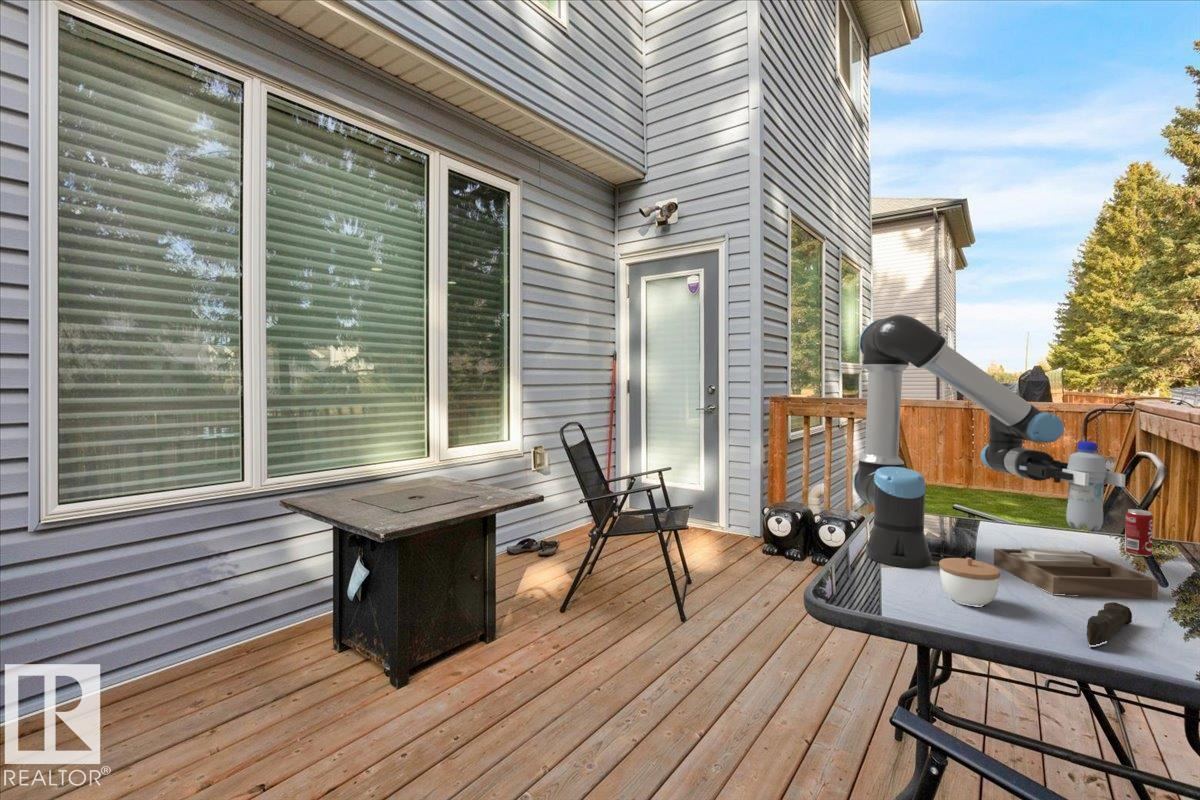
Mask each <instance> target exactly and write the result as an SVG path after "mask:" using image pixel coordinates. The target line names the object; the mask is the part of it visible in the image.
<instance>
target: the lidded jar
mask: <svg viewBox="0 0 1200 800" xmlns="http://www.w3.org/2000/svg"><path fill="white" fill-rule="evenodd" d="M938 562H939V565H938V566H939V576H940V578H939V580H940V582H941V583H940V584H941V586H942V588H943V590H944V591H945V593H946V594H947V595H948V596H949V597H950V598H952V599H954V600H955V601H958V602H961V603H965V604H969V605H978V606H981V605H986V606H987V604H990V603H991V602H992V601H993V600H994V599H995V598H996V596H997V594H998V591H999V587H1000V577H1001V570H1000V569H999V567H998V568H997V566H996V565H995V566H994V564H993V565H992V564H990V563H987V562H984V561H980V560H975V559H973V558H971V557H965V558H962V557H946V558H941V559H940V560H939V561H938Z"/></svg>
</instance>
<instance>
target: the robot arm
mask: <svg viewBox="0 0 1200 800" xmlns="http://www.w3.org/2000/svg"><path fill="white" fill-rule="evenodd" d="M858 346H859V349H860V352H861V353H862V355H863V357H862V359H863V360H862V366H863V368H864V369H865V370H866V371H867V372H868V375H867V377H868V378H867V398H866V400H867V401H866V402H867V403H866V423H865V425H866V426H865V447H864V454H863V455H861V456H860V457H859V458H858V469H857V470H856V471H855V474H853V475H854V476H853V477H852V478H853V479H852V482H853V483H852V484H853V488H854V491H855V493H856V494H857V495H858V497H859V498H860V499H861V500H862V501H863V502H864V503H866V504H867V505H870V506H871V507H873V528H872V531H871V533H870V535H869V538H868V542H867V543H866V547H865V555H866V554H867V555H868V556H869V557H870V558H871V560H872V559H873V561H874V562H878V563H880V564H883V565H889V566H893V567H900V568H911V569H913V568H914V569H915V568H916V569H917V568H919V569H920V568H926V567H929V566H931V565H932V553H931V551H930V549H929V544H928V541H927V537H926V534H925V513H926V512H925V507H926V506H925V505H926V490H927V487H926V479H925V477H924V475H923V474H921V472H919V471H918V470H914V469H910V468H909V469H908V468H906V467H905V462H904V461H903V459H901V457H900V456H899V452H900V451H899V450H900V429H901V428H900V427H901V411H902V410H901V407H902V406H901V405H902V387H903V386H902V385H903V372H904V371H905V370H906V369H907V368H908V367H909V365H910V364H911V365H912V366H914V367H916V368H917V369H921V368H923V369H926V370H927V371H929V372H930V373H931V374H933V375H934V376H935V377H937V378H938V379H940V380H942V381H943V382H945V384H947V385H948V386H950V387H951V388H953V389H954V390H956V391H957V392H958V393H959V394H960V395H963V396H964V398H967V399H968V400H970V401H971V402H972V403H974V404H975V405H977V406H978V407H980V408H981V409H983V411H986V412H987V413H988V422H989V424H988V427H989V428H988V429H989V431H988V432H989V434H988V437H989V438H988V444H986V445H985V446H984V447H983V448H982V450H981V452H980V460H981V463H983V465H984V466H985V467H987V468H989V469H992V470H994V471H996V472H997V473H998V472H999V473H1005V474H1008V475H1009V474H1010V475H1014V476H1018V477H1019V479H1020V480H1023V479H1029V480H1033V481H1037V482H1038V481H1039V482H1042V481H1045V480H1051V479H1053V483H1054V484H1060V483H1061V481H1063V482H1067V483H1069V482H1071V483H1075V484H1079V485H1083V486H1089V474H1088V473H1083V472H1078V471H1074V470H1069V469H1067V466H1068V462H1065V461H1064V462H1063V461H1061V460H1057V459H1054V458H1053V457H1052V455H1051V454H1050V453H1047V452H1045V451H1041V450H1035V449H1030V448H1024V447H1023V444H1024V441H1029V442H1033V443H1037V444H1039V443H1040V444H1041V443H1042V444H1050V443H1054V442H1056V441H1058V440H1059V439H1060V438H1061V437H1062V435H1063V434H1064V430H1065V425H1064V422H1063V420H1062V419H1061V417H1059V416H1058V415H1056V414H1053V413H1050V412H1047V411H1042V410H1040V409H1039V408H1038V407H1036V405H1035V406H1034V405H1033V404H1031V403H1030V402H1028V401H1027V400H1025V399H1024V398H1023V397H1021V396H1020V395H1018V394H1017V393H1015V392H1014V391H1013V390H1011V389H1010V388H1009V387H1007V386H1006V385H1004V384H1003V383H1001V382H1000V381H998V380H997V379H996V378H994V377H993V376H991V375H990V374H988V373H987V372H986V371H984V370H983V369H982V368H981V367H979V366H978V365H976V364H974V363H973V362H972V361H970V360H969V359H967V358H966V357H964V356H963V355H961V354H960V353H959V352H957V351H956V349H955V350H954V349H953V348H952V347H950V346H949V345H948V343H947V339H946V338H945V337H943V335H942V334H939V332H937V331H935V330H934V329H932V328H931V327H930V326H928V325H926V324H925V323H924V322H922V321H920V320H918V319H917V318H914V317H912V316H910V315H909V316H908V315H904V314H895V315H891V316H887V317H885V318H880V319H876V320H875V321H873V322H871V323H870V324H868V325H867V326H865V328H864V329H863V330H862V332H861V334H860V336H859V339H858ZM1106 469H1107V472H1106V478H1105V479H1104V484H1105V485H1106V484H1107V485H1111V486H1115V487H1121V488H1125V487H1126V474H1124V473H1120V472H1119V473H1118V472H1113V471H1111V469H1108V468H1106ZM867 555H866V556H867ZM868 556H867V557H868ZM869 557H868V558H869ZM870 558H869V559H870Z"/></svg>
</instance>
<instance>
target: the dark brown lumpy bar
mask: <svg viewBox="0 0 1200 800" xmlns="http://www.w3.org/2000/svg"><path fill="white" fill-rule="evenodd" d="M1132 619H1133V613H1132V610H1131V609H1130V607H1129V606H1127V605H1123V604H1121V603H1118V602H1115V601H1114V602H1107V603H1104V604H1103V609H1100V610H1098V612H1097V615H1092V616H1090V617H1089V618H1088V621H1087V625H1086V634H1085V635H1086V639H1087V643H1088V642H1089V644H1090V645H1096V644H1100V643H1102V642H1105V641H1108V642H1109V638H1110V637H1111V636H1113V635H1115V634H1116V633H1117V632H1118V630H1119V629H1121V628H1123V626H1124V625H1125V624H1127V625H1126V626H1128V625H1130V624H1132V622H1133V620H1132Z"/></svg>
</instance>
